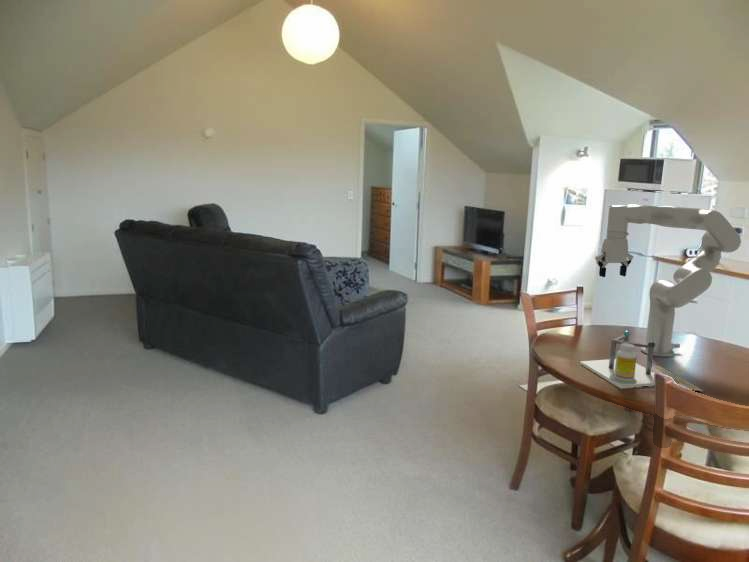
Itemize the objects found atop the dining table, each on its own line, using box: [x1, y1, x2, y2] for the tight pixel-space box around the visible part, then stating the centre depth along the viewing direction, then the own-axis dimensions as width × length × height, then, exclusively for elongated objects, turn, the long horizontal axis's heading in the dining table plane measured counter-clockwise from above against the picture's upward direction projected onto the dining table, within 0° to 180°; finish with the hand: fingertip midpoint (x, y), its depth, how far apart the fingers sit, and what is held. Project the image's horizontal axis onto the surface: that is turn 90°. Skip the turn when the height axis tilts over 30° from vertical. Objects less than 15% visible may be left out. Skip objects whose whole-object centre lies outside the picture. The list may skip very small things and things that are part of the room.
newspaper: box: [651, 365, 705, 393], centre depth 196 cm, size 24×7×2 cm, turn 6°
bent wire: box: [609, 330, 655, 375], centre depth 203 cm, size 12×16×13 cm
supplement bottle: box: [614, 343, 638, 381], centre depth 191 cm, size 7×7×13 cm
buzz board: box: [579, 358, 655, 390], centre depth 201 cm, size 21×25×2 cm
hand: (612, 276), depth 220 cm, fingers open, 9 cm apart
